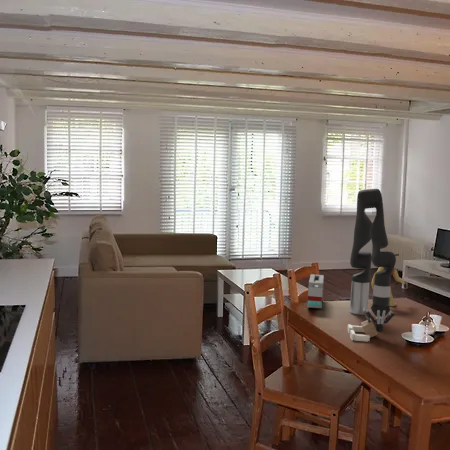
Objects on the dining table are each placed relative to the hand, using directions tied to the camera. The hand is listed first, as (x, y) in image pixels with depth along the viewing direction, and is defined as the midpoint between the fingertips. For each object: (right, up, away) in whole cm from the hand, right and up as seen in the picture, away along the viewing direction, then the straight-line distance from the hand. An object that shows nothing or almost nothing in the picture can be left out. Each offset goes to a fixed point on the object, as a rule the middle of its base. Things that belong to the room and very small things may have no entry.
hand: (379, 331), depth 248 cm
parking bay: (-9, -2, +1) cm, 10 cm away
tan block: (-3, -1, +1) cm, 3 cm away
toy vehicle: (-20, +4, +58) cm, 62 cm away
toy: (+23, +3, +61) cm, 66 cm away
